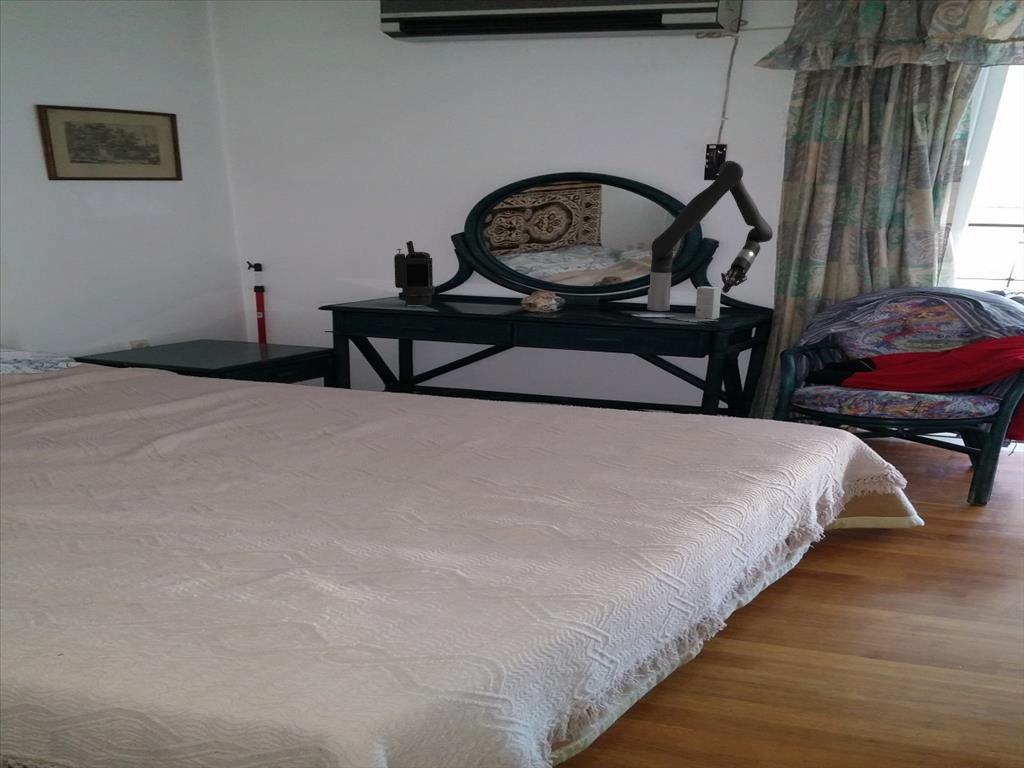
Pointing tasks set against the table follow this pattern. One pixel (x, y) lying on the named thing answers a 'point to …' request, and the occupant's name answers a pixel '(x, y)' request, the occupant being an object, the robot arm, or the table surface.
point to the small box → (708, 302)
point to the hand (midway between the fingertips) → (724, 291)
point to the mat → (693, 319)
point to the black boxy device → (414, 276)
